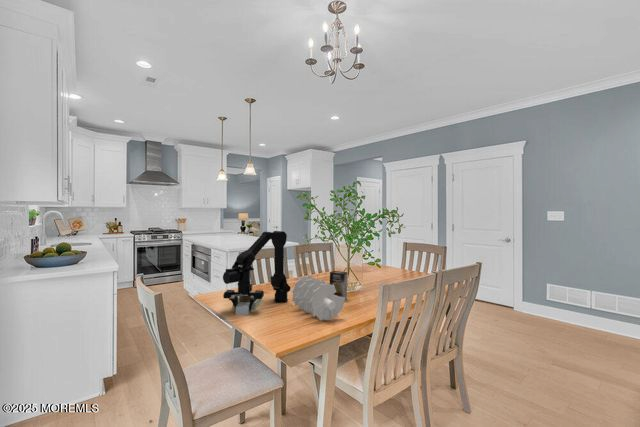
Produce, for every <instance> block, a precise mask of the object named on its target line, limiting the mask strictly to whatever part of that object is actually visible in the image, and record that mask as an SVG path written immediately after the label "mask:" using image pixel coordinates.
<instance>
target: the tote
mask: <svg viewBox="0 0 640 427" xmlns="http://www.w3.org/2000/svg"><path fill="white" fill-rule="evenodd" d="M262 300H263V298H262V299H257V300H256V301H255V302H254V303H253V306H252V309H251V311H254V310H257V308H258V307H259V305H260V303H261V302H262ZM239 303H250V302H239V296H238V304H239ZM232 310H236V309H235V307H234V305H233V304H232Z"/></svg>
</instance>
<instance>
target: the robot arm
mask: <svg viewBox="0 0 640 427" xmlns="http://www.w3.org/2000/svg"><path fill="white" fill-rule="evenodd" d="M287 238H288V235H287V232H285V231H282V230H274V231H272V232H270V231H262V233H261V235H260V236H259V237H258V238H257V239H256V240H255V241H254V242H253V244H252V245H251V246H250V247H249V248H247V249H246V250H244V251H242V252H241V253H239V255H237V257H236V259H235V261H234V263H233V265H232V266H231V268H226V269H225V271H224V272H223V274H222V281H223V283H224V284H226V285H229V284H234V283H237V291H235V289H226V290H225V291H224V293H223V299H228V300H229V301H231V303H232V306H233V305H234V307H235V309H234V310H236V306H237V305H238V296H251V299H250V306H249V312H252V310H251V309H252V306H253V303H254V301H256V300H257V299H262V300H263V299H264V298H263V297H264V295H265V292H264V291H263V290H260V289H259V290H255V291H254V292H250V291H253V284H252V283H251V271H254V270H255V268H253V266H252V265H253V263H254V261H255V259H256V256H257V255H258V253H259V252H260V251H261V250H262V249H263V248H264V247H265V245H266V244H267V243H268V242H269V241H270V240H271V244H272V246H273V248H274V273H273V275H271V276H270V284H271V287H272V289H273V291H275V293H274V302H275V303H280V304H281V303H282V304H283V303H287V304H288V301H289V299H288V293H289V292H290V291H291V286H290V285H289V284H288V280H287V277H286V275H285V270H284V267H285V266H284V261H285V260H284V247H285V245H286V243H287Z"/></svg>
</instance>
